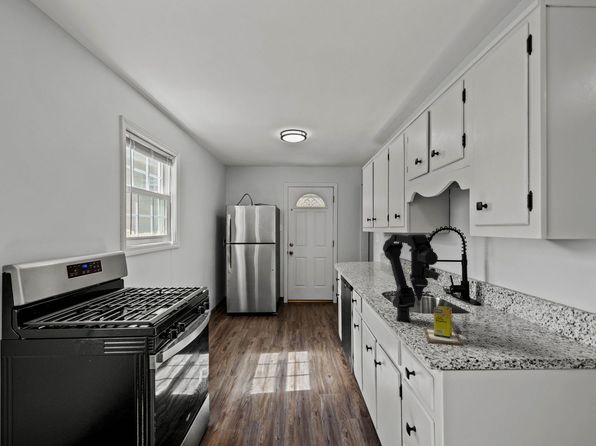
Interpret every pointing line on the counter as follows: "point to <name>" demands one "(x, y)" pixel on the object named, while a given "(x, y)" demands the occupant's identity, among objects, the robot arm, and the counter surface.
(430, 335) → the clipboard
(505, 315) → the counter surface
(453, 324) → the dark grey rod
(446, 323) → the supplement box
